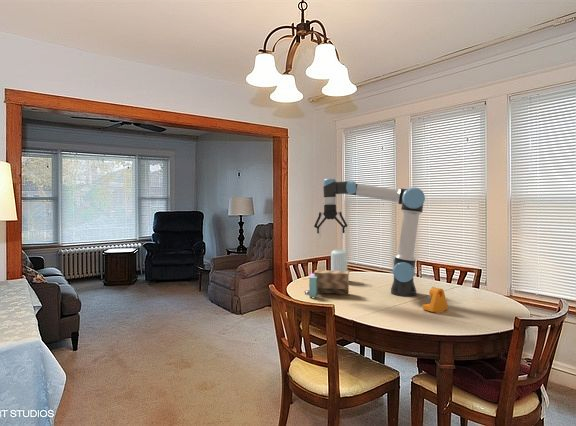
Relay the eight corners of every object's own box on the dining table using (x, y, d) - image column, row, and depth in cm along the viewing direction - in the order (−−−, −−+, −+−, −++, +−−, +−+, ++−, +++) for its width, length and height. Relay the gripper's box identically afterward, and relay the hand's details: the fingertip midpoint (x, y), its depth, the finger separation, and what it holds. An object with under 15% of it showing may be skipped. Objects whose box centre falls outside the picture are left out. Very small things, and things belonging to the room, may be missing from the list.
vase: (328, 280, 270) (328, 249, 269) (342, 279, 273) (342, 248, 272) (335, 283, 259) (335, 251, 258) (350, 282, 262) (350, 250, 261)
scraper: (318, 293, 230) (318, 274, 230) (316, 298, 219) (316, 277, 219) (312, 293, 231) (312, 274, 231) (309, 297, 220) (309, 277, 220)
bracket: (436, 307, 199) (436, 284, 198) (447, 310, 192) (447, 287, 192) (421, 310, 194) (421, 287, 193) (432, 313, 187) (432, 290, 187)
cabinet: (349, 293, 230) (349, 271, 229) (348, 296, 222) (348, 273, 221) (315, 291, 235) (315, 270, 234) (313, 295, 226) (313, 272, 226)
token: (312, 293, 232) (312, 290, 231) (310, 295, 227) (310, 292, 227) (305, 293, 233) (305, 290, 233) (303, 294, 228) (303, 291, 228)
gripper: (350, 203, 229) (351, 237, 229) (310, 204, 234) (311, 238, 234) (350, 203, 221) (351, 239, 222) (308, 204, 226) (310, 239, 227)
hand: (331, 238), depth 228 cm, fingers open, 13 cm apart
